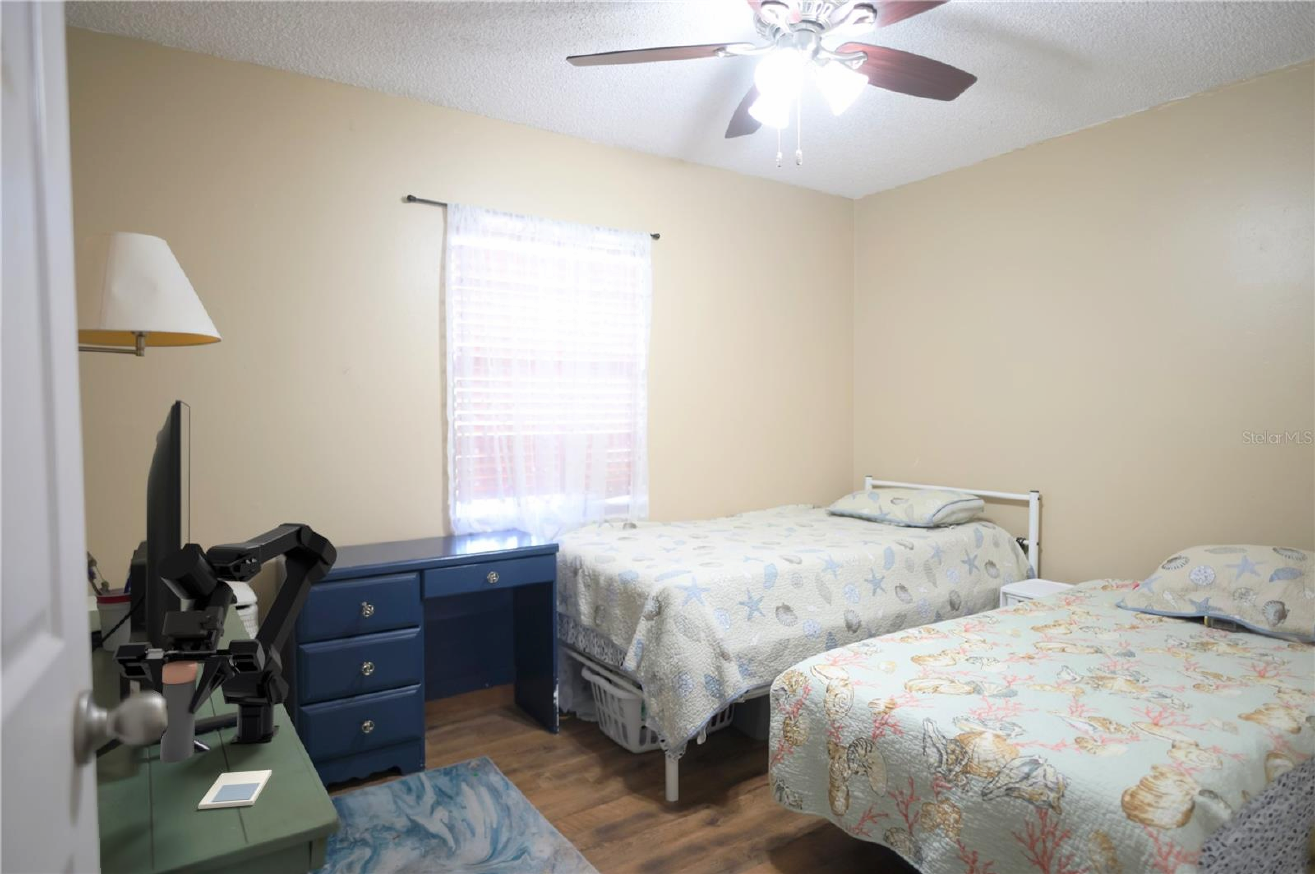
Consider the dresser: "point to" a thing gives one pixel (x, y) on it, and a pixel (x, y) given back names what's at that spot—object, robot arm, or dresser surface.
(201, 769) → the dresser surface
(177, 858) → the dresser surface
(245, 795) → the notepad
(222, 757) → the dresser surface
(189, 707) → the bottle
